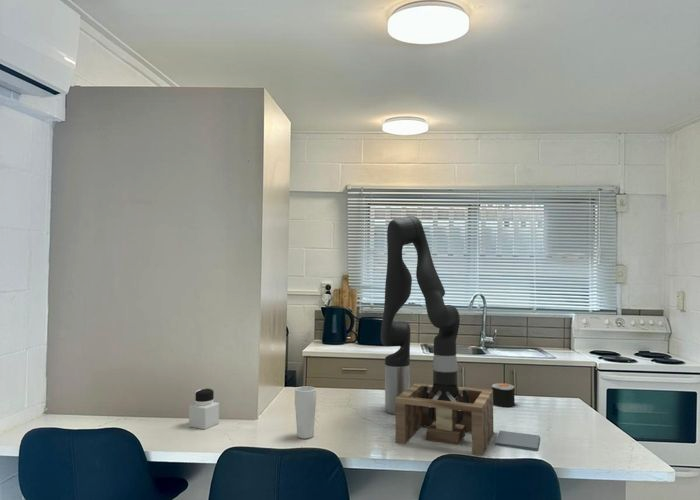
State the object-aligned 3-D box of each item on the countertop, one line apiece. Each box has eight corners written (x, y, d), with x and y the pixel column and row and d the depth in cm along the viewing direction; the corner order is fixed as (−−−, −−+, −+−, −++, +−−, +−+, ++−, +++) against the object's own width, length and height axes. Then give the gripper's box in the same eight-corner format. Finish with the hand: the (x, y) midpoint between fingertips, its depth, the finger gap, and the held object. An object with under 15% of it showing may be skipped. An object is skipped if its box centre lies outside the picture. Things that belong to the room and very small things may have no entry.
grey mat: (499, 432, 160) (499, 430, 160) (539, 438, 155) (539, 435, 155) (494, 445, 149) (494, 442, 149) (537, 451, 144) (537, 448, 144)
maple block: (440, 424, 159) (439, 402, 160) (455, 426, 157) (455, 404, 157) (436, 428, 155) (436, 406, 155) (452, 431, 153) (451, 408, 153)
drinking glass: (294, 433, 160) (295, 386, 160) (315, 432, 161) (316, 385, 161) (294, 440, 153) (294, 391, 154) (316, 439, 154) (316, 391, 154)
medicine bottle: (219, 423, 170) (219, 388, 170) (205, 429, 163) (205, 393, 164) (203, 421, 173) (203, 386, 173) (188, 427, 166) (188, 390, 167)
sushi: (496, 400, 199) (496, 380, 199) (517, 404, 194) (517, 383, 194) (489, 405, 192) (488, 384, 193) (510, 408, 187) (510, 387, 188)
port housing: (415, 422, 171) (415, 382, 172) (493, 432, 161) (492, 390, 161) (395, 442, 151) (395, 398, 152) (482, 455, 141) (482, 407, 141)
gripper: (470, 368, 157) (470, 420, 156) (426, 364, 163) (426, 414, 162) (465, 372, 150) (466, 426, 150) (419, 369, 156) (420, 421, 155)
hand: (445, 420), depth 156 cm, fingers open, 8 cm apart
